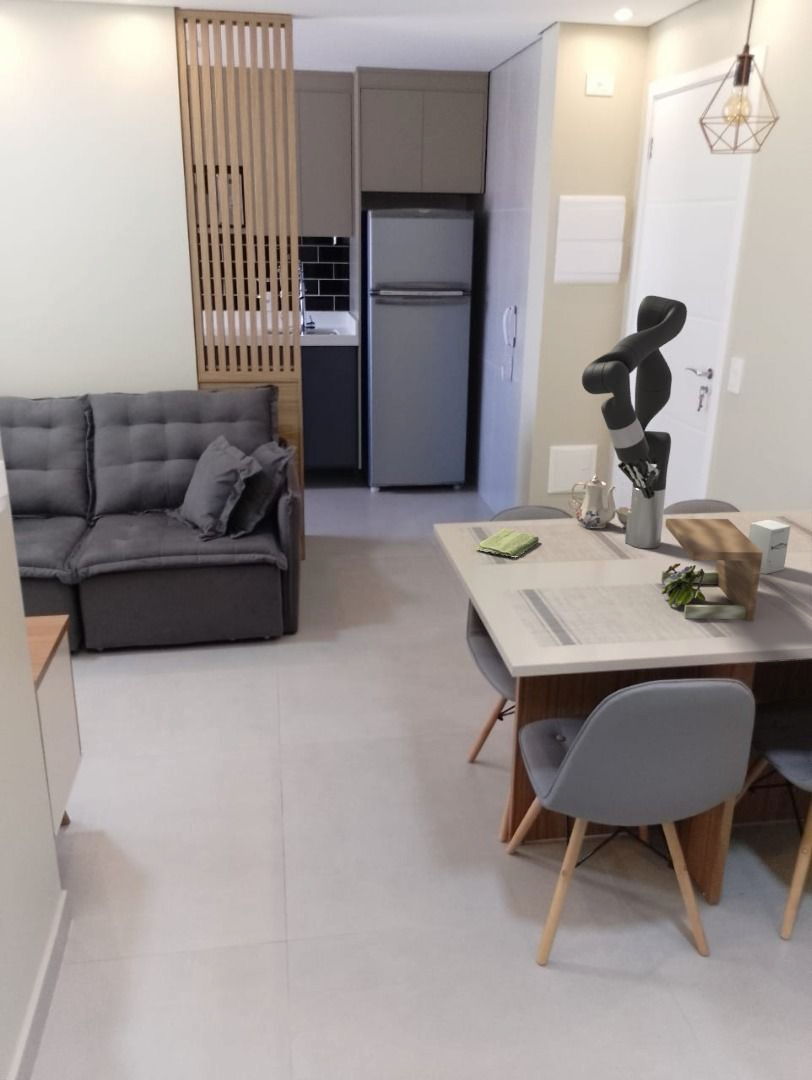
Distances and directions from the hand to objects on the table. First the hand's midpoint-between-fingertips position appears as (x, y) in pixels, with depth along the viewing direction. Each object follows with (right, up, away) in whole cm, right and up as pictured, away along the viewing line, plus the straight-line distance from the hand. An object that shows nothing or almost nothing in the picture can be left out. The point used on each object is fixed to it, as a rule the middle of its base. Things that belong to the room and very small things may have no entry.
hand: (649, 496), depth 216 cm
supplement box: (+37, -18, +22) cm, 47 cm away
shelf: (+14, -25, +2) cm, 29 cm away
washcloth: (-30, -13, +39) cm, 51 cm away
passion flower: (+9, -26, +1) cm, 27 cm away
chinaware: (+1, -6, +61) cm, 61 cm away
